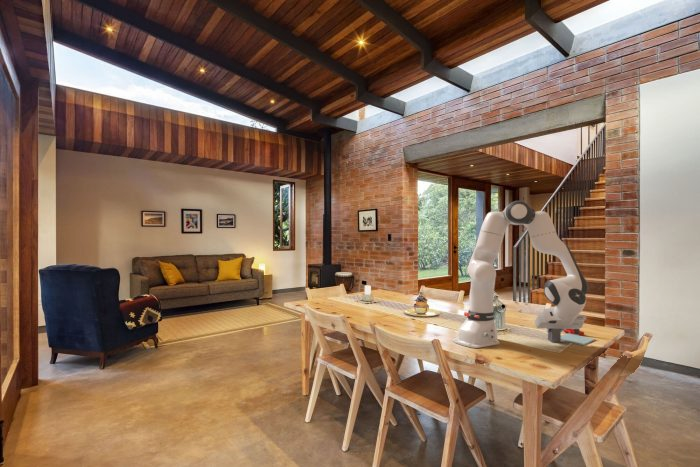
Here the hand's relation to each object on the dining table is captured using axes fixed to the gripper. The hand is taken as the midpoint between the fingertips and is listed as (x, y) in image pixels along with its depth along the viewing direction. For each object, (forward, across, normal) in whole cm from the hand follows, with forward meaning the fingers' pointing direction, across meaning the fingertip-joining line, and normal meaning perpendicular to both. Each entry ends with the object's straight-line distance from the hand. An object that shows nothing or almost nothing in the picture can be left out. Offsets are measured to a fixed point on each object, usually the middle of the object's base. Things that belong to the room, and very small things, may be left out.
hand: (553, 330), depth 167 cm
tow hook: (+13, -16, -7) cm, 22 cm away
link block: (+3, 0, +4) cm, 5 cm away
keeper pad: (+5, -11, +2) cm, 13 cm away
